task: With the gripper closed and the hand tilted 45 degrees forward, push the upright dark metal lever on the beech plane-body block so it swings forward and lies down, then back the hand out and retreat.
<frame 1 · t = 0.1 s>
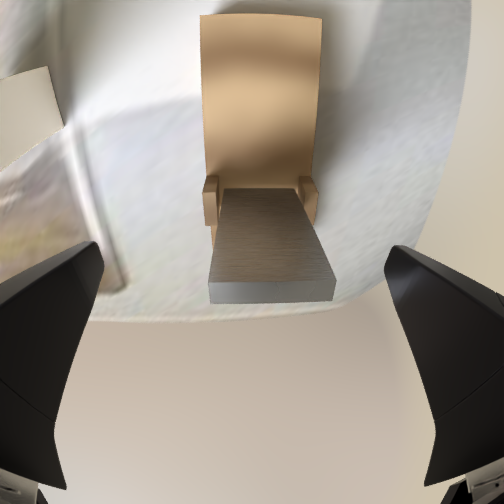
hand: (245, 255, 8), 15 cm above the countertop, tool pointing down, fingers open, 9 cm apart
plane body: (257, 137, 20), on the countertop
lever cap: (264, 236, 15), point 9 cm above the countertop, hinge at -8.0°
milk: (33, 108, 16), on the countertop
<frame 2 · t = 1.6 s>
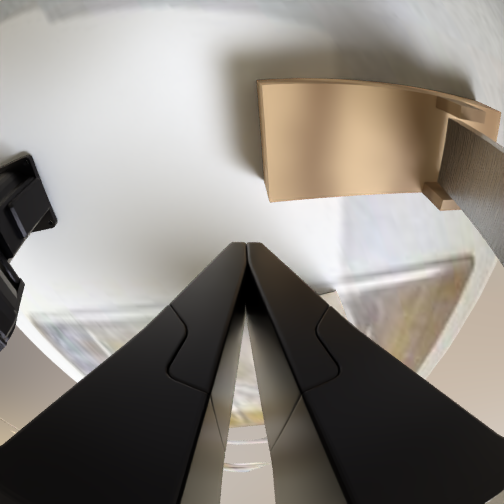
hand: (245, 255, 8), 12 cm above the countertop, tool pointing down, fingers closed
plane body: (387, 130, 17), on the countertop
lever cap: (496, 189, 11), point 9 cm above the countertop, hinge at -8.0°
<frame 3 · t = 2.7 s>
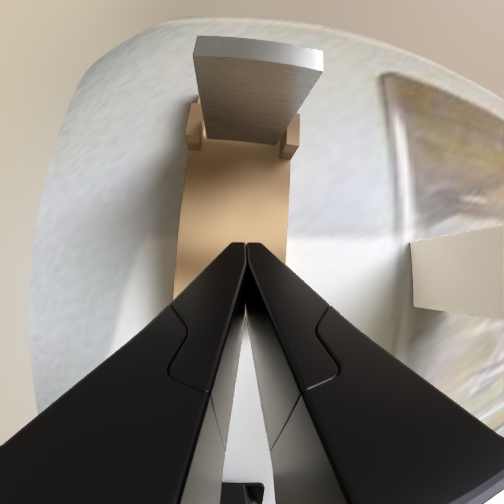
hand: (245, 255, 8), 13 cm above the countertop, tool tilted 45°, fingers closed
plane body: (235, 190, 22), on the countertop
lever cap: (249, 97, 13), point 9 cm above the countertop, hinge at -8.0°
milk: (433, 271, 23), on the countertop
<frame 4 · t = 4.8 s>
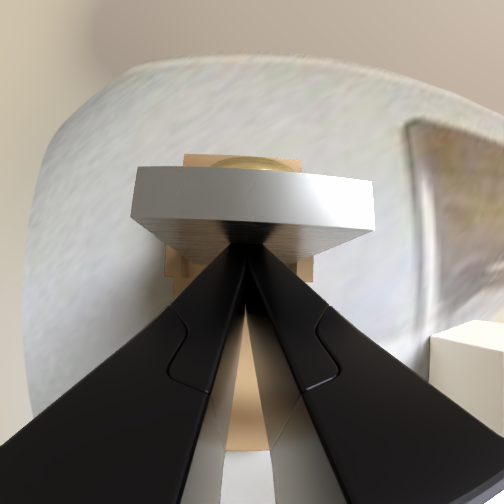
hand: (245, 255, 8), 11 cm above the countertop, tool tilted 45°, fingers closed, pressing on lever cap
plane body: (235, 307, 19), on the countertop
lever cap: (244, 229, 10), point 9 cm above the countertop, hinge at 1.8°, touching gripper
milk: (451, 358, 20), on the countertop
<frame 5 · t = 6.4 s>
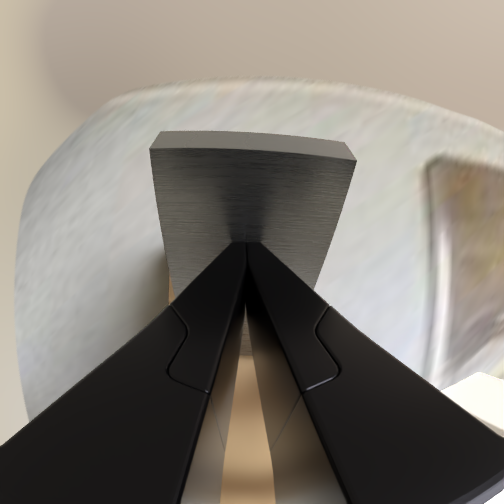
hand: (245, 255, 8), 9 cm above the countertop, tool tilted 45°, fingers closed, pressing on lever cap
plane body: (235, 384, 17), on the countertop
lever cap: (243, 272, 10), point 7 cm above the countertop, hinge at 40.1°, touching gripper
milk: (452, 409, 18), on the countertop
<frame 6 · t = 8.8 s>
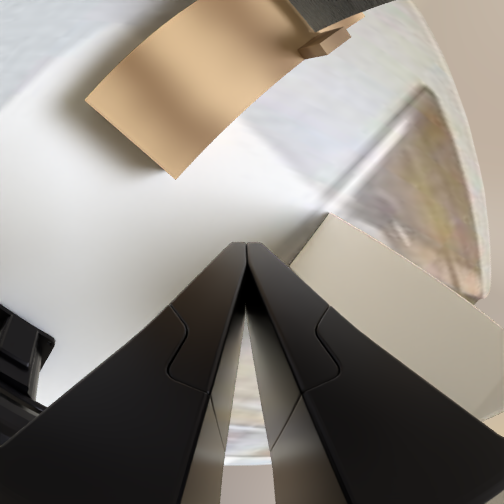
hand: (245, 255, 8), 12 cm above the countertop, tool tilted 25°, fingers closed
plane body: (231, 42, 15), on the countertop
milk: (326, 252, 26), on the countertop
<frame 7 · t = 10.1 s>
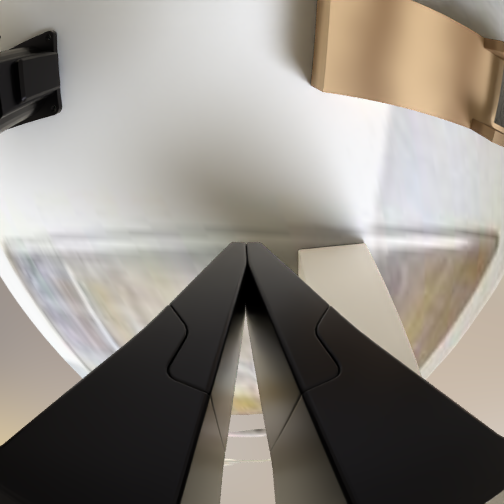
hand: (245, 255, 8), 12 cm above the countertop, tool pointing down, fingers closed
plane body: (435, 66, 13), on the countertop
milk: (329, 269, 26), on the countertop
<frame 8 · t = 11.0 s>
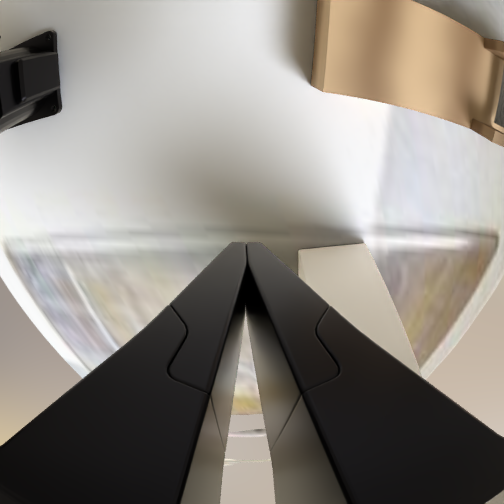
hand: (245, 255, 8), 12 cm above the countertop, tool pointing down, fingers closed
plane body: (435, 66, 13), on the countertop
milk: (329, 269, 26), on the countertop
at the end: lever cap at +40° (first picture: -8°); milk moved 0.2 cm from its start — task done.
